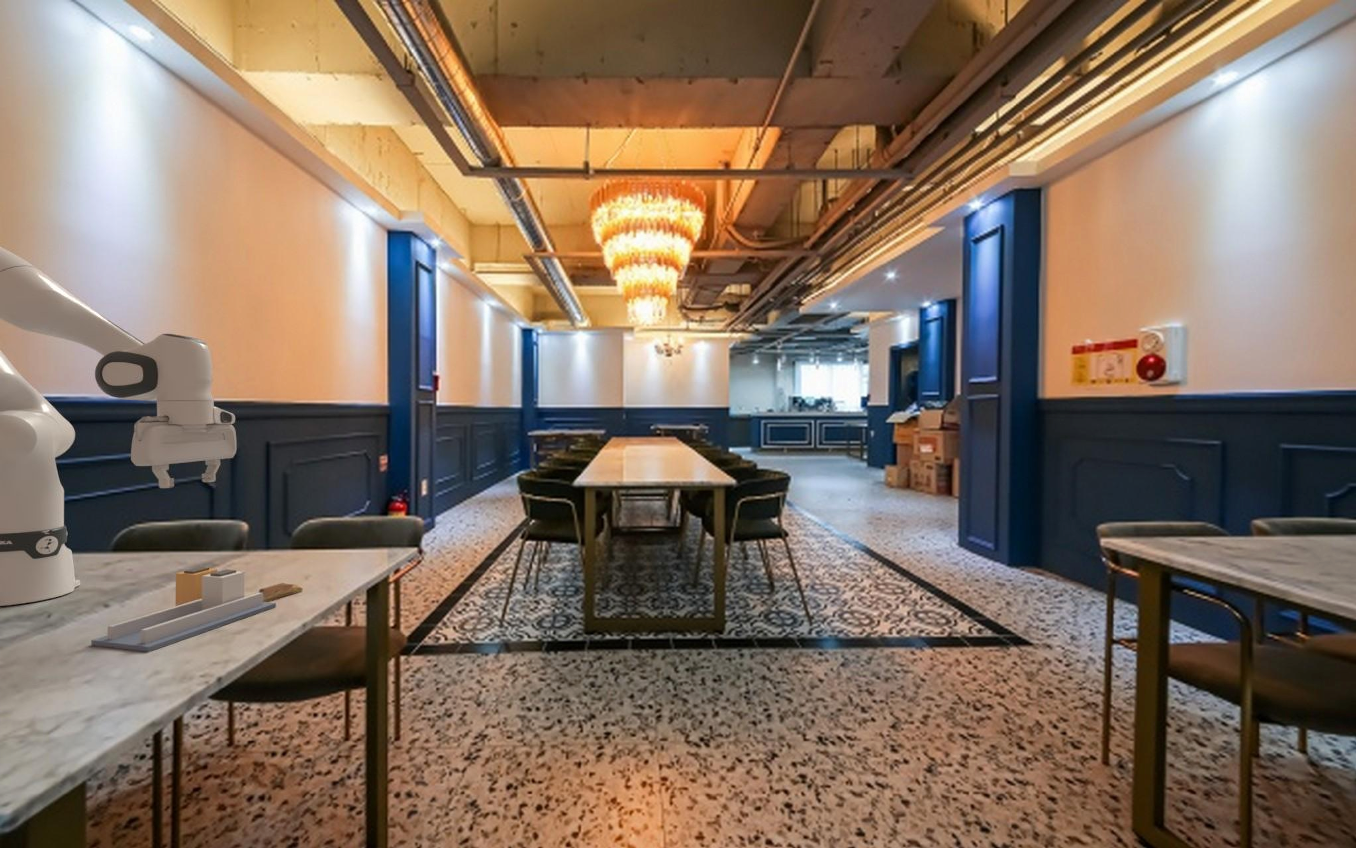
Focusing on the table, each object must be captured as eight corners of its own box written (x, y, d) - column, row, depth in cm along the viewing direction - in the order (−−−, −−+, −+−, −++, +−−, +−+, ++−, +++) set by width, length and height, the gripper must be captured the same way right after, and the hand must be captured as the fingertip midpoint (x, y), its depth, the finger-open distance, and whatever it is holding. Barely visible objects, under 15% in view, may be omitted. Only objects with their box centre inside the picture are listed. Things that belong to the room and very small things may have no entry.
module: (175, 608, 120) (175, 571, 120) (197, 601, 124) (198, 566, 124) (195, 610, 119) (195, 572, 119) (216, 603, 123) (217, 567, 123)
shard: (257, 608, 122) (257, 599, 122) (229, 604, 124) (229, 595, 124) (304, 593, 132) (304, 585, 132) (277, 590, 135) (277, 582, 135)
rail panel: (91, 645, 100) (91, 596, 100) (226, 602, 123) (227, 562, 123) (148, 651, 98) (149, 601, 97) (275, 607, 121) (276, 566, 121)
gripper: (151, 416, 109) (153, 491, 110) (241, 415, 130) (243, 478, 130) (119, 416, 110) (121, 491, 110) (214, 415, 130) (216, 479, 131)
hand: (188, 484), depth 120 cm, fingers open, 8 cm apart
